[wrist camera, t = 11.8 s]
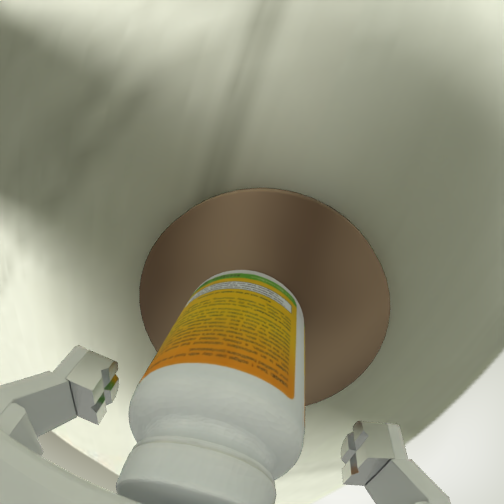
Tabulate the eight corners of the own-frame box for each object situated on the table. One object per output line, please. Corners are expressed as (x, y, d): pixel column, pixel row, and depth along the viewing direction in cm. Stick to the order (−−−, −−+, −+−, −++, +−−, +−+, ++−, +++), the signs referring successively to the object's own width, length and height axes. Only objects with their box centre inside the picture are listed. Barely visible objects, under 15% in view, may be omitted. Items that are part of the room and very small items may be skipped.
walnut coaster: (142, 365, 18) (136, 375, 17) (162, 161, 14) (153, 163, 13) (334, 413, 18) (334, 425, 17) (421, 230, 13) (429, 236, 12)
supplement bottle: (169, 286, 15) (49, 450, 6) (280, 249, 13) (247, 459, 4) (218, 373, 16) (162, 541, 7) (318, 349, 15) (323, 544, 6)
